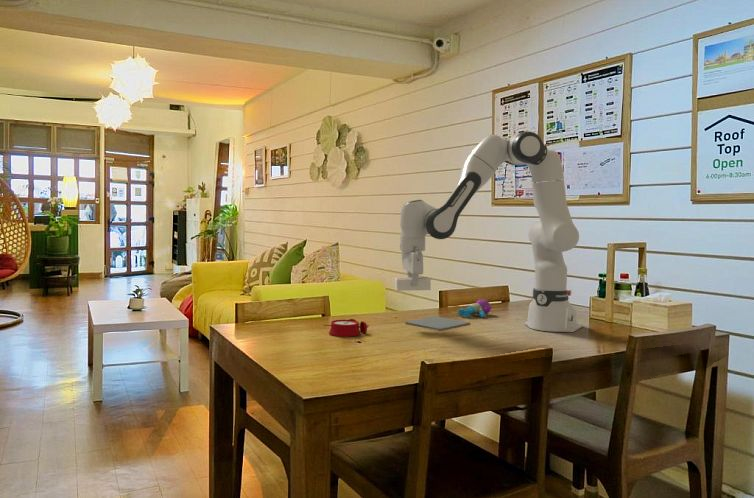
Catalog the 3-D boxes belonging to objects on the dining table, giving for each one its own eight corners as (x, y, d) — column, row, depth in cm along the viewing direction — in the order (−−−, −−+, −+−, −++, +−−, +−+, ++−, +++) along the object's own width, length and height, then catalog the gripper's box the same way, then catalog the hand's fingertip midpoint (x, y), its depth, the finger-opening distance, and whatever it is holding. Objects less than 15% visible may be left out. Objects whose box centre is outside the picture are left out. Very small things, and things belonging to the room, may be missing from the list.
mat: (435, 317, 230) (435, 316, 230) (469, 324, 219) (470, 322, 219) (405, 323, 217) (405, 322, 217) (440, 330, 206) (440, 328, 206)
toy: (475, 325, 228) (501, 314, 237) (473, 308, 227) (499, 298, 236) (453, 320, 238) (478, 310, 247) (451, 304, 237) (477, 295, 245)
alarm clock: (320, 322, 197) (354, 308, 206) (323, 340, 198) (357, 325, 207) (339, 328, 189) (374, 313, 198) (342, 346, 190) (376, 330, 200)
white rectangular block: (427, 288, 215) (427, 276, 215) (430, 290, 210) (430, 278, 210) (394, 288, 214) (394, 277, 213) (397, 290, 209) (397, 279, 208)
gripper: (427, 247, 201) (427, 288, 202) (415, 243, 221) (415, 280, 222) (409, 247, 200) (409, 288, 201) (399, 244, 220) (399, 281, 221)
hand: (412, 284), depth 212 cm, fingers closed on white rectangular block, 5 cm apart
